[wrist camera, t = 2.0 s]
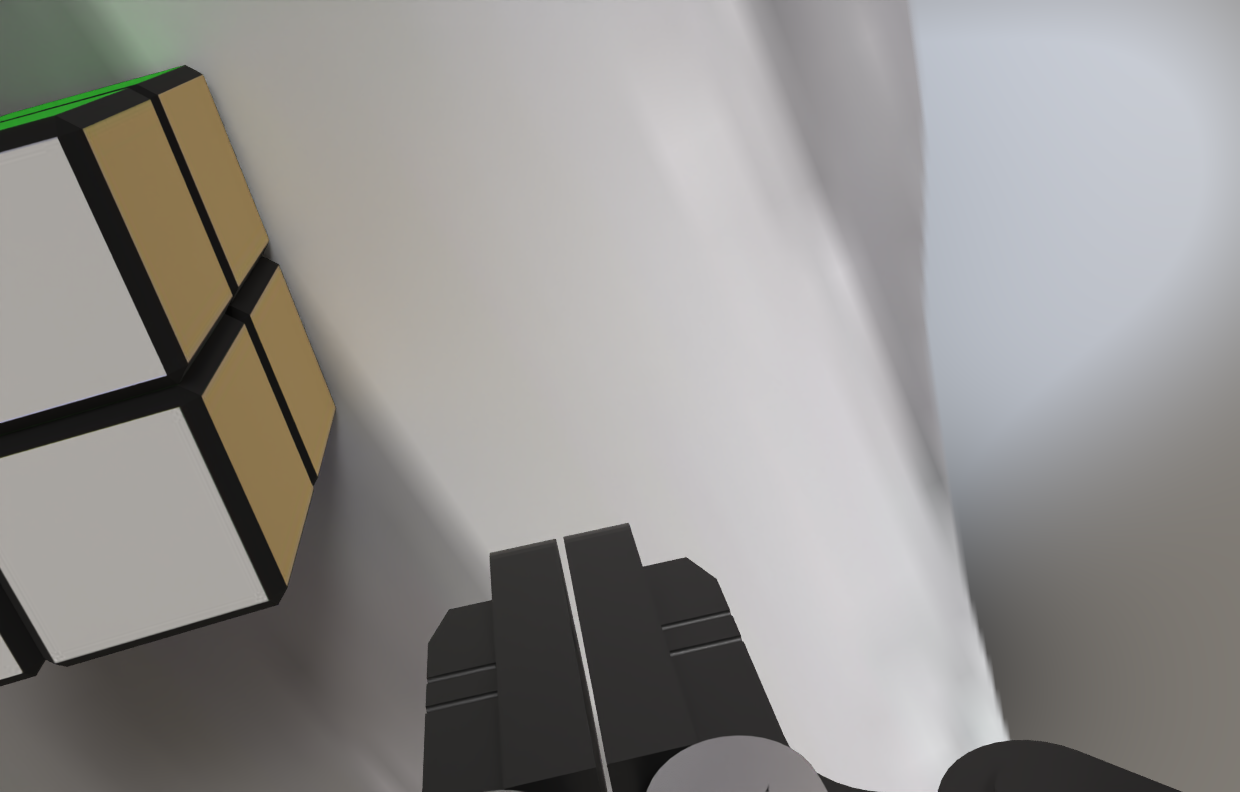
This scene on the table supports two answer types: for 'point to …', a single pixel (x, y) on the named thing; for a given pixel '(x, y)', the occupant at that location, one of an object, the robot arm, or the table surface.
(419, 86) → the table surface
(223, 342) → the puzzle cube
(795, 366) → the table surface
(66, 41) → the table surface
